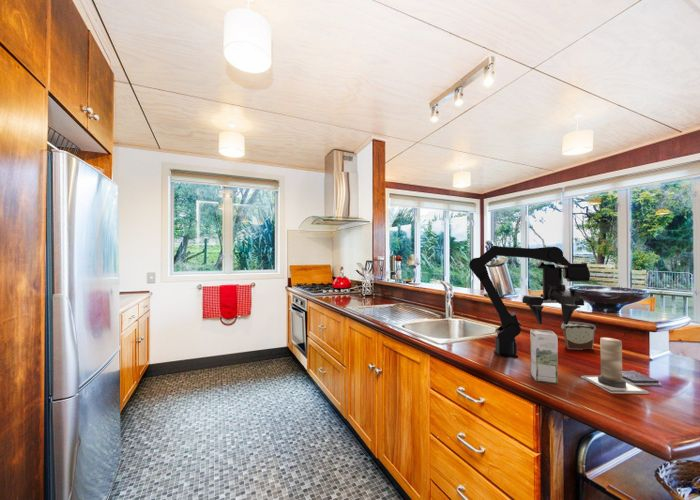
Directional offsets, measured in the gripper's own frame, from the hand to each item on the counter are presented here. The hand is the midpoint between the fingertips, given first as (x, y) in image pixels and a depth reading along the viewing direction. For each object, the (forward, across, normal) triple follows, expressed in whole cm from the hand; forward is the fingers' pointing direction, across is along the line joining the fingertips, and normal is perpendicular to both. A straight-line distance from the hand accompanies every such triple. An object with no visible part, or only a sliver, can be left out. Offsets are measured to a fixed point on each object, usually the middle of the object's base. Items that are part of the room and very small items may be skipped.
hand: (552, 324), depth 102 cm
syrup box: (+13, -14, -16) cm, 25 cm away
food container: (+13, +20, +16) cm, 29 cm away
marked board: (+13, +4, -20) cm, 24 cm away
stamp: (+13, +3, -19) cm, 23 cm away
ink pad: (+13, +13, -16) cm, 24 cm away
